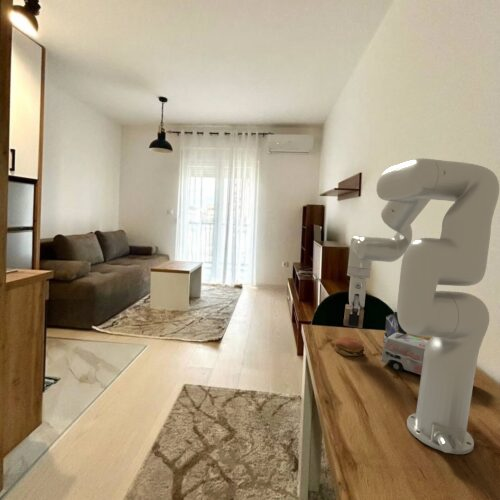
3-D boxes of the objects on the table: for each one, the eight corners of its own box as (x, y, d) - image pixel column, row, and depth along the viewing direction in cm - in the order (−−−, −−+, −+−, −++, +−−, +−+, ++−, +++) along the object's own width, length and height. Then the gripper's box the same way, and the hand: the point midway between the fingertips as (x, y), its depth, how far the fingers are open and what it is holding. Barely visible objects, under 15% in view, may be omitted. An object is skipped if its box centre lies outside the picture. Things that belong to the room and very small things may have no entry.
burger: (329, 351, 114) (331, 338, 114) (341, 345, 121) (343, 332, 121) (356, 360, 108) (358, 347, 107) (367, 353, 114) (369, 341, 114)
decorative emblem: (403, 359, 112) (408, 316, 110) (396, 358, 112) (401, 316, 110) (389, 346, 123) (393, 307, 122) (382, 345, 123) (387, 307, 122)
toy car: (469, 397, 89) (474, 362, 88) (378, 365, 105) (382, 335, 104) (475, 385, 97) (479, 352, 96) (389, 357, 113) (393, 329, 112)
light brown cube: (362, 328, 110) (364, 311, 109) (343, 325, 111) (345, 308, 111) (361, 323, 115) (363, 306, 115) (343, 320, 117) (345, 304, 116)
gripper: (372, 277, 102) (365, 332, 104) (368, 270, 119) (362, 318, 120) (347, 274, 104) (341, 328, 106) (347, 267, 121) (342, 314, 122)
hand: (352, 322), depth 113 cm, fingers closed on light brown cube, 6 cm apart
